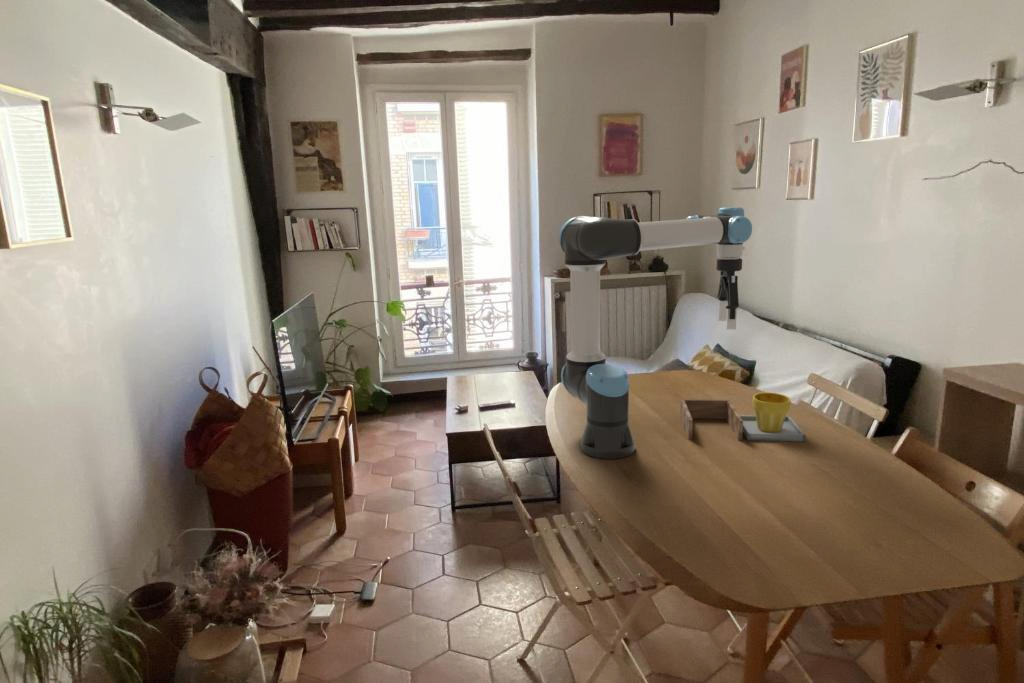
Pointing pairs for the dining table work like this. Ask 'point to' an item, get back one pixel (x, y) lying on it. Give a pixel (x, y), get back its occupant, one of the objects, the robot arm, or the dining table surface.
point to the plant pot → (770, 410)
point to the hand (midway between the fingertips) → (726, 324)
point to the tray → (787, 432)
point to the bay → (710, 414)
